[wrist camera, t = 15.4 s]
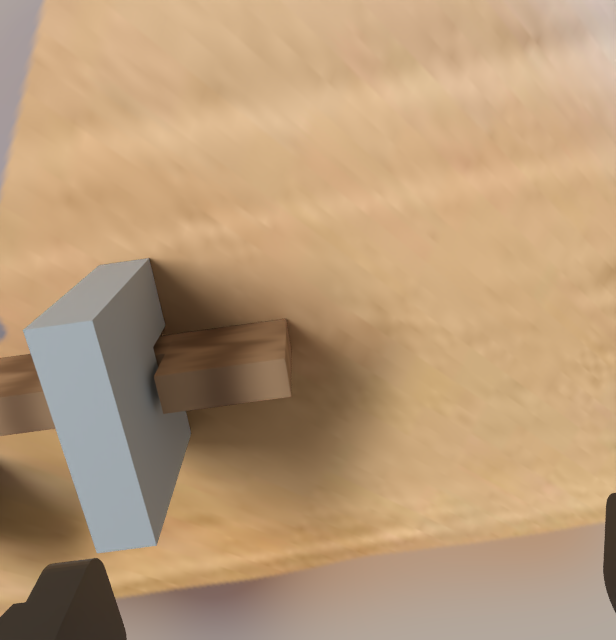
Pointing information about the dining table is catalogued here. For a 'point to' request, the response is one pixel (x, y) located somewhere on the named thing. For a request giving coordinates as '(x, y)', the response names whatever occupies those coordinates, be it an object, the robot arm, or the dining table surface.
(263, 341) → the walnut slotted plate
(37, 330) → the tall grey upright block
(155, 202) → the dining table surface
